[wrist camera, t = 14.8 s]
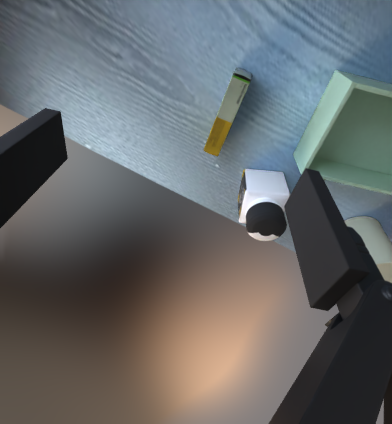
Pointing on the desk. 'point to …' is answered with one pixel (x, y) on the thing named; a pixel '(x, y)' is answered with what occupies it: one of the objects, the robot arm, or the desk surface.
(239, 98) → the medication box
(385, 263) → the can
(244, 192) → the medicine bottle
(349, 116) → the bin
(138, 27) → the desk surface
